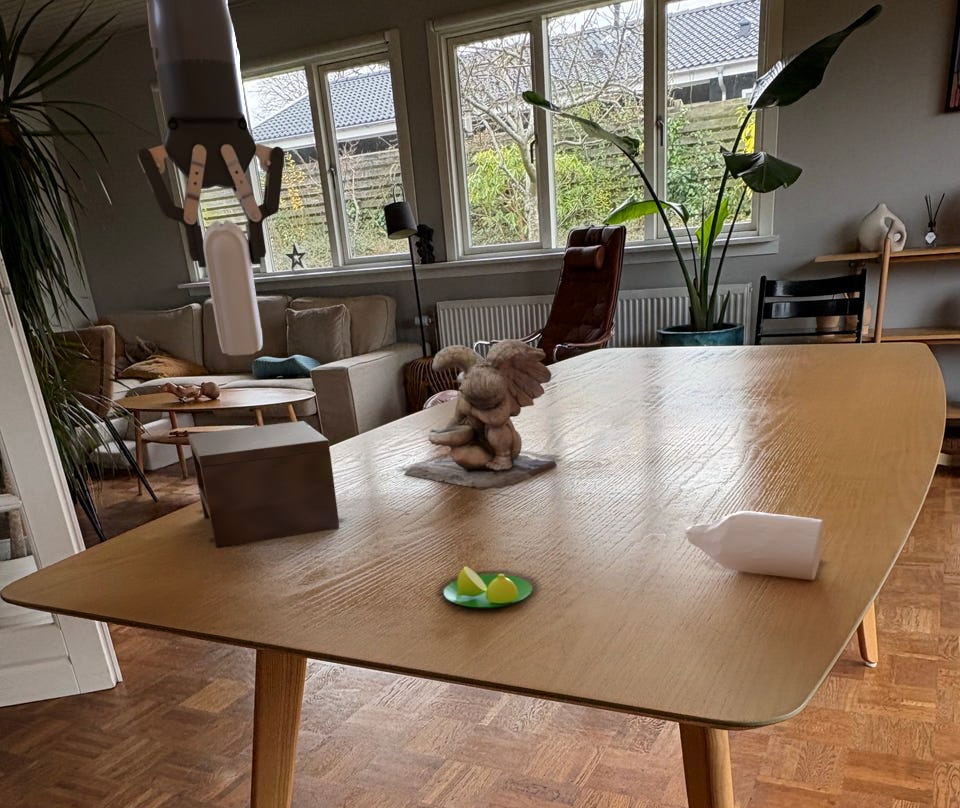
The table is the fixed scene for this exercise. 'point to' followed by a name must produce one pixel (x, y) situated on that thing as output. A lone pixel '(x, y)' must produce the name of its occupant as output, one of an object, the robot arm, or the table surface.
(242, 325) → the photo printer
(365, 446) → the table surface
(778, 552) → the white plastic bottle
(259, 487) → the box
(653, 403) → the table surface
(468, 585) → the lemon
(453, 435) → the cherub figurine
